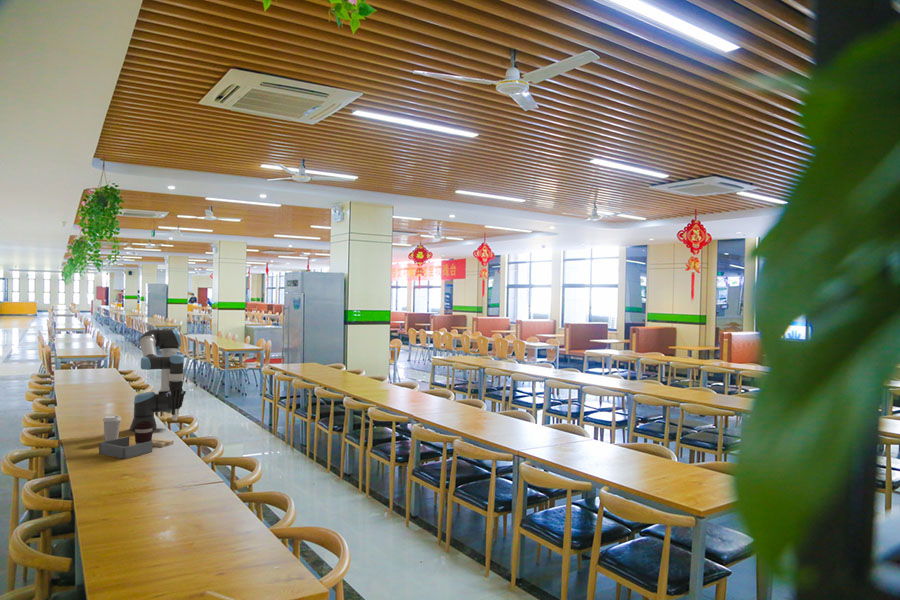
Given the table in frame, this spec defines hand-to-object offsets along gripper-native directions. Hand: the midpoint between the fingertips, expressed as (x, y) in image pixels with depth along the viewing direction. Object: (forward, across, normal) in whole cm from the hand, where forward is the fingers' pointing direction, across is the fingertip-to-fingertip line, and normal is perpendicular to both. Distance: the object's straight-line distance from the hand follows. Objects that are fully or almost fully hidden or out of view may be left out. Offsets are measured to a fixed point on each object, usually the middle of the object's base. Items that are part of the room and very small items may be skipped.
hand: (174, 419), depth 345 cm
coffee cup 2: (+13, +20, 0) cm, 24 cm away
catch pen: (+13, +31, 0) cm, 33 cm away
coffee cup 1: (+13, +20, -28) cm, 36 cm away
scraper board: (+13, +9, 0) cm, 16 cm away
